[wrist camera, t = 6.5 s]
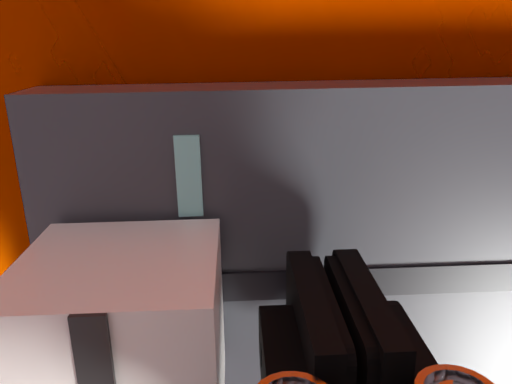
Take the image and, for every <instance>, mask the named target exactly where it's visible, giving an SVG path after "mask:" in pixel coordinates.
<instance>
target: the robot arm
mask: <svg viewBox="0 0 512 384" xmlns="http://www.w3.org/2000/svg"><path fill="white" fill-rule="evenodd" d="M258 314H259V356H260V373H261V380H260V382H259V383H258V384H494V383H493V382H491V381H490V380H489V379H488V378H487V377H485V376H483V375H481V374H479V373H478V372H476V371H474V370H471V369H468V368H465V367H462V366H457V365H450V364H438V363H437V361H436V360H435V358H434V356H433V355H432V353H431V352H430V350H429V348H428V347H427V345H426V344H425V342H424V340H423V339H422V337H421V336H420V334H419V333H418V331H417V329H416V328H415V326H414V325H413V323H412V321H411V320H410V318H409V317H408V315H407V313H406V312H405V310H404V309H403V307H402V305H401V304H400V303H399V302H398V301H395V300H394V301H387V299H386V298H385V296H384V294H383V293H382V291H381V289H380V287H379V286H378V284H377V282H376V281H375V279H374V277H373V275H372V274H371V272H370V270H369V269H368V267H367V265H366V263H365V262H364V260H363V258H362V257H361V255H360V253H359V251H358V250H357V249H338V250H333V252H332V256H325V258H324V267H323V265H322V262H321V260H320V257H319V256H312V255H311V252H310V250H309V251H287V254H286V305H265V306H259V312H258Z"/></svg>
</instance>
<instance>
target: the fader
mask: <svg viewBox="0 0 512 384" xmlns="http://www.w3.org/2000/svg"><path fill="white" fill-rule="evenodd" d="M0 384H225V342H224V317H223V293H222V268H221V244H220V219H190V220H158V221H125V222H92V223H59V224H50V225H49V226H48V227H47V228H46V229H45V230H44V231H43V232H42V233H41V235H40V236H39V237H38V238H37V239H36V240H35V241H34V242H33V243H32V244H31V245H30V246H29V247H28V248H27V249H26V250H25V251H24V252H23V253H22V254H21V255H20V256H19V257H18V259H17V260H16V261H15V262H14V263H13V264H12V265H11V266H10V267H9V268H8V269H7V270H6V271H5V272H4V273H3V274H2V275H1V276H0Z"/></svg>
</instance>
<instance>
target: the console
mask: <svg viewBox="0 0 512 384" xmlns="http://www.w3.org/2000/svg"><path fill="white" fill-rule="evenodd" d="M4 98H5V104H6V110H7V115H8V121H9V127H10V132H11V138H12V144H13V149H14V155H15V161H16V166H17V172H18V178H19V183H20V189H21V195H22V201H23V206H24V212H25V218H26V223H27V229H28V235H29V240H30V245H31V244H32V243H33V242H34V241H35V240H36V239H37V238H38V237H39V236H40V235H41V233H42V232H43V231H44V230H45V229H46V228H47V227H48V226H49V225H50V224H59V223H92V222H125V221H158V220H190V219H220V244H221V268H222V293H223V317H224V342H225V384H258V383H259V382H260V380H261V373H260V356H259V314H258V312H259V306H265V305H286V254H287V251H309V250H310V252H311V255H312V256H319V257H320V260H321V262H322V265H323V267H324V258H325V256H332V252H333V250H338V249H357V250H358V251H359V253H360V255H361V257H362V258H363V260H364V262H365V263H366V265H367V267H368V269H369V270H370V272H371V274H372V275H373V277H374V279H375V281H376V282H377V284H378V286H379V287H380V289H381V291H382V293H383V294H384V296H385V298H386V299H387V301H394V300H395V301H398V302H399V303H400V304H401V305H402V307H403V309H404V310H405V312H406V313H407V315H408V317H409V318H410V320H411V321H412V323H413V325H414V326H415V328H416V329H417V331H418V333H419V334H420V336H421V337H422V339H423V340H424V342H425V344H426V345H427V347H428V348H429V350H430V352H431V353H432V355H433V356H434V358H435V360H436V361H437V363H438V364H450V365H457V366H462V367H465V368H468V369H471V370H474V371H476V372H478V373H479V374H481V375H483V376H485V377H487V378H488V379H489V380H490V381H491V382H493V383H494V384H512V77H477V78H425V79H372V80H319V81H267V82H214V83H162V84H109V85H56V86H36V87H32V88H28V89H24V90H21V91H17V92H13V93H9V94H5V95H4Z"/></svg>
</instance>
